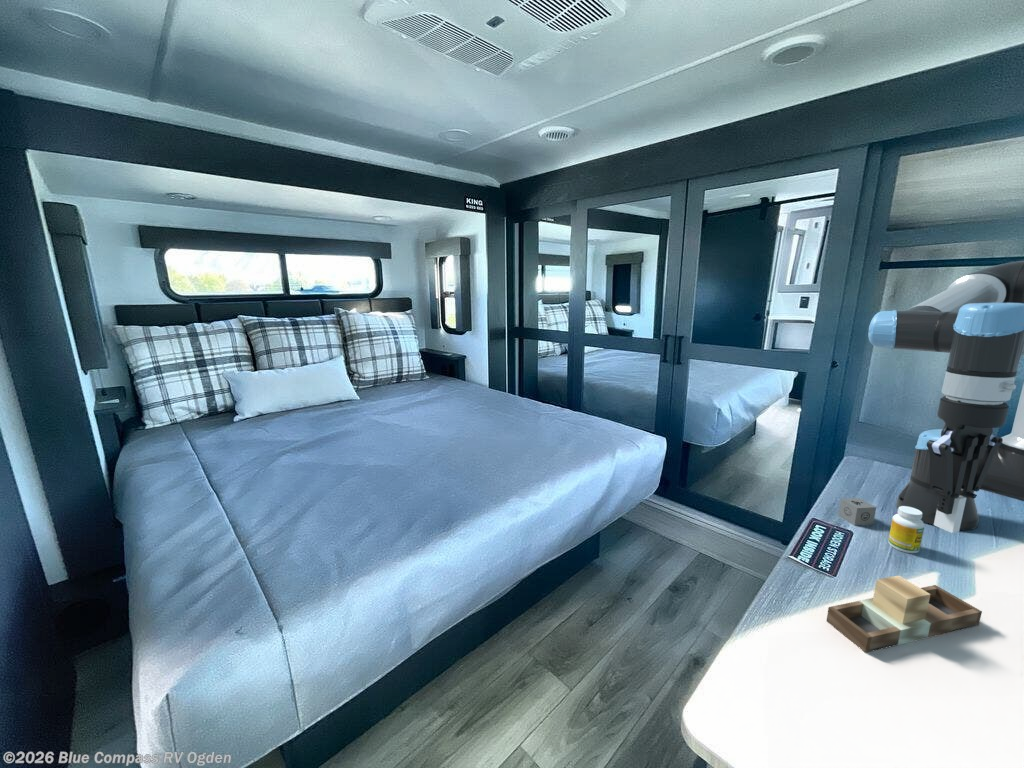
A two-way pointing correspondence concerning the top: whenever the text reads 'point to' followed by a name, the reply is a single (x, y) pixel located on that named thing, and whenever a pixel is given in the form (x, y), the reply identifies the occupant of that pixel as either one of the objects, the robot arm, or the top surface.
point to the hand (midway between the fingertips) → (946, 528)
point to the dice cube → (857, 511)
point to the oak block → (901, 599)
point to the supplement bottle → (906, 530)
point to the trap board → (882, 630)
